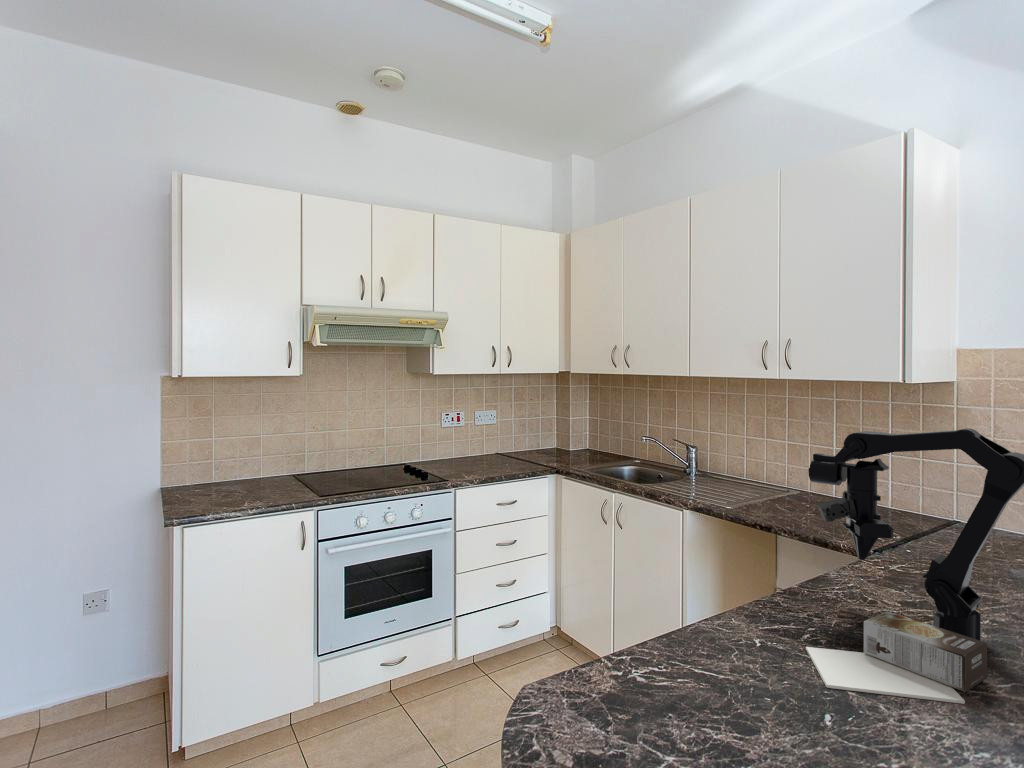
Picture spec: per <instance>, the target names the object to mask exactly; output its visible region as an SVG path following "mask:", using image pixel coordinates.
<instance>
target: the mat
mask: <svg viewBox="0 0 1024 768" xmlns="http://www.w3.org/2000/svg"><path fill="white" fill-rule="evenodd" d="M805 650H806V652H807V655H808V656H809V659H810V660H811V661H812V663H813V665H814V667H815V669H816V670H817V672H818V674H819V676H820V678H821V680H822V681H823V683H824V685H825V687H826V688H827V689H836V690H845V691H853V692H861V693H869V694H870V693H871V694H876V695H877V694H879V695H886V696H895V697H903V698H904V697H905V698H912V699H919V700H920V699H921V700H930V701H938V702H946V703H955V704H962V705H963V704H964V705H965V704H966V701H965V699H964V698H963V697H962V696H961V695H960V694H959V693H958V691H956V690H955V688H953V687H951V686H948V685H946V684H943V683H941V682H938V681H936V680H933V679H930V678H928V677H925V676H923V675H920V674H918V673H915V672H912V671H910V670H907V669H905V668H902V667H900V666H897V665H895V664H892V663H889V662H887V661H884V660H882V659H879V658H876V657H874V656H871V655H869V654H866V653H864V652H859V651H852V650H851V651H850V650H843V649H842V650H841V649H832V648H831V649H830V648H821V647H812V646H805Z"/></svg>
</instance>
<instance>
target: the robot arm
mask: <svg viewBox="0 0 1024 768" xmlns="http://www.w3.org/2000/svg"><path fill="white" fill-rule="evenodd" d="M945 450H946V451H948V450H960V451H962V452H964V453H965V454H966V455H968V457H970V458H971V459H972V460H973V461H974V462H976V463H977V464H978V465H979V466H981V467H982V468H984V469H986V470H987V472H986V475H985V478H984V482H983V483H984V484H983V488H982V494H981V496H980V498H979V499H978V502H977V504H976V505H975V507H974V509H973V510H972V513H971V515H970V516H969V518H968V519H967V522H966V524H965V525H964V527H963V529H961V530H962V531H961V532H960V533H959V536H958V538H957V539H956V541H955V542H954V545H953V546H952V548H951V549H950V552H949V553H948V555H946V557H945V556H944V555H943V554H941V553H940V554H939V555H937V556H936V557H934V558H933V559H932V560H931V562H930V565H929V569H928V571H927V572H926V573H924V574H923V575H922V578H925V580H924V584H923V585H924V586H923V587H924V589H925V591H926V593H927V594H928V596H929V597H930V598H931V599H932V600H933V601H934V605H935V607H936V612H934V613H933V626H936V627H939V628H942V629H945V630H948V631H951V632H954V633H958V634H961V635H964V636H967V637H970V638H973V639H977V640H980V641H982V640H981V638H982V637H981V635H982V634H981V632H982V631H981V628H982V627H981V625H982V621H981V618H982V617H981V615H982V614H981V613H980V612H979V611H978V610H976V609H978V608H979V606H980V604H981V602H982V600H983V598H982V597H981V596H980V595H979V594H978V593H977V592H976V591H975V590H974V589H973V588H972V587H971V586H970V585H969V584H970V581H971V577H972V572H973V566H974V562H975V560H976V559H977V557H978V555H979V553H980V552H981V550H982V548H983V546H984V545H985V543H986V542H987V540H988V538H989V536H990V534H991V533H992V531H993V529H994V527H995V526H996V524H997V523H998V520H999V519H1000V518H1001V516H1002V513H1003V512H1004V510H1005V509H1006V506H1007V505H1008V503H1009V502H1010V501H1011V500H1012V499H1013V498H1014V497H1015V496H1016V495H1017V494H1018V493H1019V492H1020V490H1022V489H1023V488H1024V453H1021V452H1014V451H1013V452H1012V451H1011V450H1009V449H1007V448H1006V447H1004V446H1003V445H1001V444H998V443H997V442H996V441H993V440H991V439H989V438H987V437H985V436H984V435H982V434H981V433H980V432H978V431H977V430H976V429H973V428H968V427H967V428H961V429H957V430H956V429H954V430H941V431H940V430H939V431H927V432H925V431H924V432H923V431H922V432H913V433H912V432H910V433H890V432H882V431H872V430H871V431H869V430H864V431H859V432H852V433H850V434H848V435H847V436H846V437H845V439H844V441H843V447H841V449H840V450H839V451H838V452H837V453H836V455H833V454H831V455H830V454H824V453H819V452H816V453H813V454H812V459H811V460H810V461H811V462H810V465H809V468H808V472H807V473H808V478H809V481H810V482H811V483H814V484H815V483H817V484H825V485H831V486H837V487H838V486H839V487H840V486H841V485H842V483H845V482H846V490H844V491H843V492H842V497H840V498H834V499H831V500H828V501H824V502H820V503H818V504H817V508H818V510H819V513H820V516H821V519H822V520H824V521H825V522H827V523H831V522H834V521H836V520H840V519H842V518H845V521H846V522H844V523H842V524H841V525H842V526H843V527H844V528H845V529H846V530H848V532H850V534H851V537H852V540H853V544H854V548H855V551H856V555H857V558H858V560H860V561H865V560H866V559H867V557H868V555H869V554H870V552H871V550H872V549H873V547H874V546H875V544H876V542H877V541H878V540H879V539H890V540H891V539H894V528H893V527H892V526H891V525H890V524H889V523H887V522H885V521H884V520H881V514H879V513H878V502H880V501H881V498H882V497H881V495H879V494H878V472H884V471H888V470H889V468H890V467H889V465H888V464H886V463H885V462H883V460H882V459H881V458H876V459H874V461H872V460H871V461H870V460H865V459H868V458H872V457H873V458H874V457H877V456H882V455H888V454H893V453H903V452H906V453H907V452H925V451H945ZM863 459H864V460H863ZM854 460H858V461H857V462H856V463H849V461H850V462H851V461H854Z"/></svg>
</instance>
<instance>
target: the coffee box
mask: <svg viewBox="0 0 1024 768" xmlns="http://www.w3.org/2000/svg"><path fill="white" fill-rule="evenodd" d="M863 653H866V654H869V655H871V656H874V657H876V658H879V659H882V660H884V661H887V662H889V663H892V664H895V665H897V666H900V667H902V668H905V669H907V670H910V671H912V672H915V673H918V674H920V675H923V676H925V677H928V678H930V679H933V680H936V681H938V682H941V683H943V684H946V685H948V686H951V687H952V688H953V689H956V690H959V691H962V692H964V693H966V692H968V691H970V690H971V689H973V688H974V687H976V686H977V685H979V684H980V683H982V682H983V681H985V680H987V679H988V643H987V642H986V641H982V640H977V639H973V638H970V637H967V636H964V635H961V634H958V633H954V632H951V631H948V630H945V629H942V628H939V627H936V626H934V625H932V624H929V623H925V622H922V621H919V620H916V619H913V618H910V617H907V616H903V615H900V614H897V613H894V612H890V611H885V612H882V613H880V614H877V615H875V616H873V617H870V618H867V619H866V620H864V621H863Z"/></svg>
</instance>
